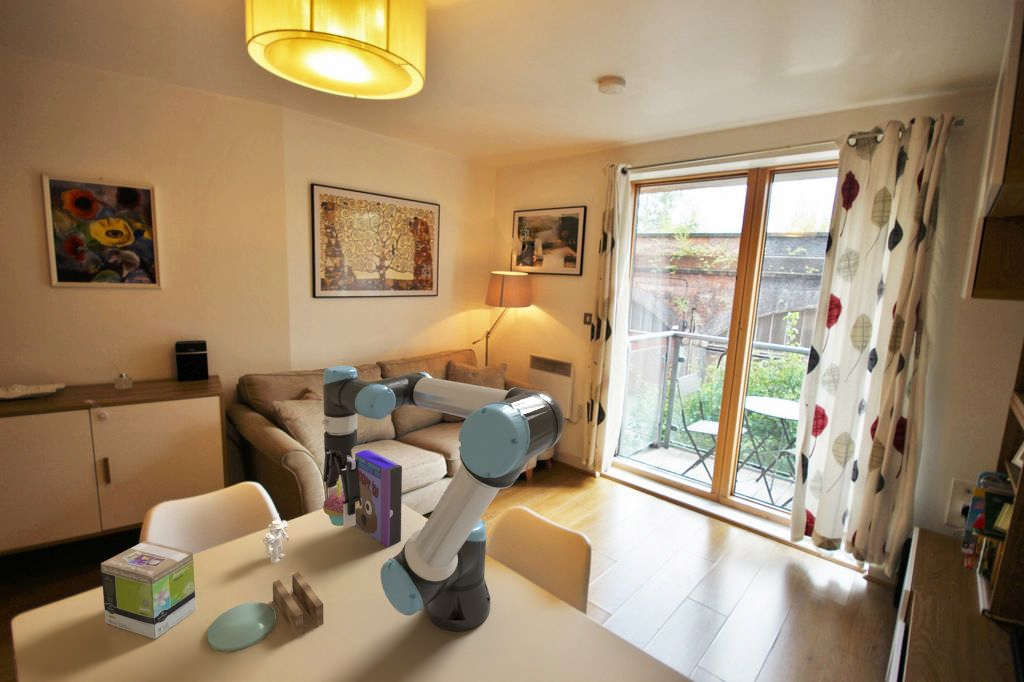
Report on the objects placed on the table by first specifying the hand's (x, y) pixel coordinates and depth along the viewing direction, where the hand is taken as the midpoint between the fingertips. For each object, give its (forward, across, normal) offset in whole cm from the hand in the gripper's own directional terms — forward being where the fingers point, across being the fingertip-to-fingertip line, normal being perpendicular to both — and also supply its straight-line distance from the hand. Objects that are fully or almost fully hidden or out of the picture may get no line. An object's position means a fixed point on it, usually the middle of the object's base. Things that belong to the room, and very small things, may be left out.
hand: (341, 518), depth 114 cm
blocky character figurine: (+19, -23, -8) cm, 31 cm away
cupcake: (+1, 0, 0) cm, 1 cm away
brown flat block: (+19, +1, -9) cm, 21 cm away
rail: (+19, +1, -14) cm, 23 cm away
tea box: (+19, -19, -36) cm, 45 cm away
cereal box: (+19, -17, +19) cm, 32 cm away
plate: (+19, -2, -22) cm, 29 cm away
